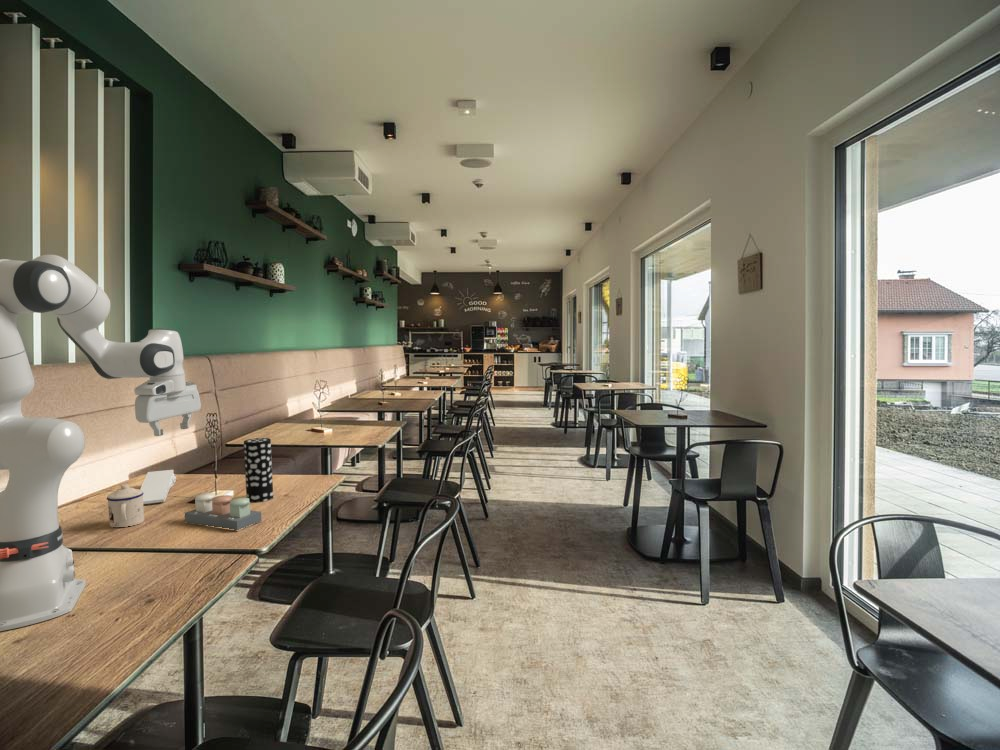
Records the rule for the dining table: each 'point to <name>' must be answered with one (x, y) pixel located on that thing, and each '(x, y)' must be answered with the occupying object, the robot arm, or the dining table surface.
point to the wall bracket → (157, 486)
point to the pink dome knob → (221, 504)
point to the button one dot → (204, 502)
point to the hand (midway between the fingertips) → (172, 432)
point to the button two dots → (239, 507)
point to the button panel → (222, 519)
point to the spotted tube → (258, 469)
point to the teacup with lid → (125, 507)
